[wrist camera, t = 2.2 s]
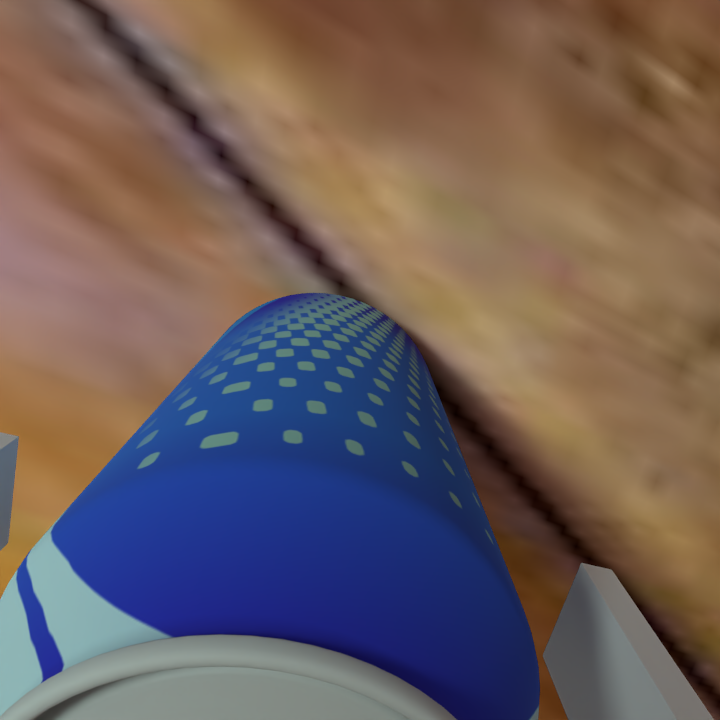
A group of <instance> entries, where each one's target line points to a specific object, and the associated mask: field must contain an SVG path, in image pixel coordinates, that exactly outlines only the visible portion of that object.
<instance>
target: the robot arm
mask: <svg viewBox="0 0 720 720" xmlns="http://www.w3.org/2000/svg"><path fill="white" fill-rule="evenodd" d="M18 439H19V436H14V435H10V434H5V433H1V432H0V550H1V549H2V548H3V547H4V546H5V545H6V544H7V543H8V538H9V528H10V518H11V508H12V498H13V488H14V478H15V468H16V458H17V449H18ZM543 658H544V661H545V663H546V666H547V668H548V671H549V673H550V676H551V678H552V681H553V683H554V686H555V688H556V690H557V693H558V695H559V698H560V700H561V703H562V705H563V708H564V710H565V713H566V715H567V718H568V720H714V719H713V718H712V716H711V715H710V713H709V712H708V710H707V709H706V707H705V706H704V704H703V703H702V701H701V700H700V698H699V697H698V696H697V694H696V693H695V691H694V690H693V688H692V687H691V685H690V684H689V682H688V681H687V679H686V678H685V676H684V675H683V674H682V672H681V671H680V669H679V668H678V666H677V665H676V663H675V662H674V660H673V659H672V657H671V656H670V654H669V653H668V652H667V650H666V649H665V647H664V646H663V644H662V643H661V641H660V640H659V638H658V637H657V635H656V634H655V633H654V631H653V630H652V628H651V627H650V625H649V624H648V622H647V621H646V619H645V618H644V616H643V615H642V613H641V612H640V611H639V609H638V608H637V606H636V605H635V603H634V602H633V600H632V599H631V597H630V596H629V594H628V593H627V591H626V590H625V589H624V587H623V586H622V584H621V583H620V581H619V580H618V578H617V577H616V575H615V574H614V572H613V571H612V570H611V569H607V568H602V567H598V566H593V565H589V564H584V563H581V564H580V567H579V569H578V572H577V574H576V576H575V579H574V581H573V584H572V586H571V588H570V591H569V593H568V596H567V598H566V600H565V603H564V605H563V608H562V610H561V612H560V615H559V617H558V620H557V622H556V624H555V627H554V629H553V632H552V634H551V636H550V639H549V641H548V644H547V646H546V648H545V651H544V653H543Z"/></svg>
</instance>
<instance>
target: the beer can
mask: <svg viewBox="0 0 720 720" xmlns="http://www.w3.org/2000/svg"><path fill="white" fill-rule="evenodd" d="M539 696H540V682H539V667H538V662H537V657H536V652H535V646H534V642H533V638H532V633H531V630H530V627H529V624H528V621H527V618H526V615H525V612H524V610H523V607H522V605H521V602H520V599H519V597H518V594H517V592H516V589H515V587H514V584H513V582H512V579H511V577H510V574H509V572H508V569H507V567H506V564H505V562H504V559H503V557H502V554H501V552H500V549H499V547H498V544H497V541H496V539H495V536H494V534H493V531H492V529H491V526H490V524H489V521H488V519H487V516H486V514H485V511H484V509H483V506H482V504H481V501H480V499H479V496H478V494H477V491H476V488H475V486H474V483H473V481H472V478H471V476H470V473H469V471H468V468H467V466H466V463H465V461H464V458H463V456H462V453H461V451H460V448H459V446H458V443H457V441H456V438H455V436H454V433H453V430H452V428H451V425H450V423H449V420H448V418H447V415H446V413H445V410H444V408H443V405H442V403H441V400H440V398H439V395H438V393H437V390H436V388H435V385H434V383H433V380H432V378H431V375H430V372H429V370H428V367H427V365H426V363H425V361H424V359H423V356H422V355H421V353H420V351H419V350H418V348H417V346H416V345H415V344H414V342H413V341H412V339H411V338H410V337H409V336H408V335H407V334H406V332H405V331H404V330H403V329H402V328H401V327H400V326H399V325H397V324H396V323H395V322H394V321H393V320H392V319H390V318H389V317H388V316H386V315H385V314H383V313H382V312H380V311H378V310H377V309H375V308H373V307H371V306H369V305H367V304H365V303H363V302H360V301H357V300H354V299H351V298H348V297H344V296H340V295H333V294H325V293H304V294H296V295H290V296H286V297H282V298H278V299H275V300H272V301H270V302H267V303H265V304H263V305H261V306H258V307H256V308H255V309H253V310H251V311H250V312H248V313H246V314H245V315H244V316H242V317H241V318H240V319H239V320H237V321H236V322H235V323H234V324H233V325H232V326H231V327H230V328H229V329H228V330H227V331H226V332H225V333H224V334H223V335H222V336H221V338H220V339H219V340H218V341H217V342H216V343H215V344H214V345H213V346H212V348H211V349H210V350H209V351H208V352H207V353H206V354H205V355H204V357H203V358H202V359H201V360H200V361H199V362H198V363H197V364H196V365H195V367H194V368H193V369H192V370H191V371H190V372H189V373H188V374H187V376H186V377H185V378H184V379H183V380H182V381H181V382H180V383H179V384H178V386H177V387H176V388H175V389H174V390H173V391H172V392H171V393H170V395H169V396H168V397H167V398H166V399H165V400H164V401H163V402H162V403H161V405H160V406H159V407H158V408H157V409H156V410H155V411H154V412H153V414H152V415H151V416H150V417H149V418H148V419H147V420H146V421H145V423H144V424H143V425H142V426H141V427H140V428H139V429H138V430H137V431H136V433H135V434H134V435H133V436H132V437H131V438H130V439H129V440H128V442H127V443H126V444H125V445H124V446H123V447H122V448H121V449H120V450H119V452H118V453H117V454H116V455H115V456H114V457H113V458H112V459H111V461H110V462H109V463H108V464H107V465H106V466H105V467H104V468H103V469H102V471H101V472H100V473H99V474H98V475H97V476H96V477H95V478H94V480H93V481H92V482H91V483H90V484H89V485H88V486H87V487H86V488H85V490H84V491H83V492H82V493H81V494H80V495H79V496H78V497H77V499H76V500H75V501H74V502H73V503H72V504H71V505H70V506H69V507H68V509H67V510H66V511H65V512H64V513H63V514H62V515H61V516H60V518H59V519H58V520H57V521H56V522H55V523H54V524H53V525H52V526H51V528H50V529H49V530H48V531H47V532H46V533H45V534H44V536H43V537H42V538H41V539H40V540H39V541H38V542H37V544H36V545H35V546H34V547H33V548H32V549H31V551H30V552H29V553H28V555H27V556H26V558H25V559H24V561H23V562H22V564H21V565H20V567H19V568H18V569H17V571H16V572H15V574H14V575H13V577H12V579H11V580H10V582H9V583H8V585H7V587H6V589H5V591H4V593H3V595H2V597H1V599H0V720H538V714H539Z"/></svg>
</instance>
